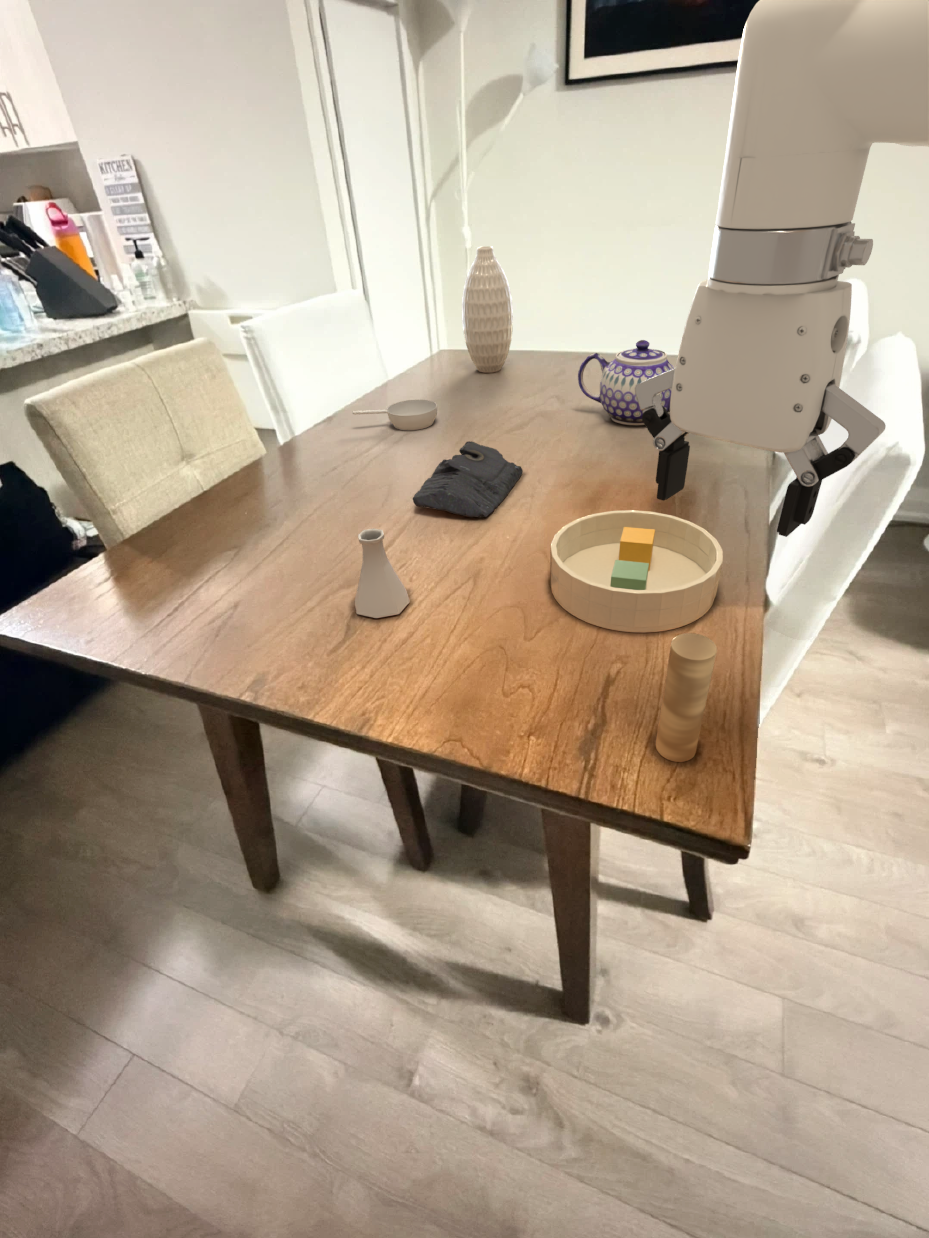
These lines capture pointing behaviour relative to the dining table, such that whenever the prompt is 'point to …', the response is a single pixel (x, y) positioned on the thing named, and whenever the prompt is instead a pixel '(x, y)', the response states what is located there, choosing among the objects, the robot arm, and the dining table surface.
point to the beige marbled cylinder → (685, 695)
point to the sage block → (629, 575)
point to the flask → (378, 580)
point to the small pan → (408, 414)
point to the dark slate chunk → (469, 482)
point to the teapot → (627, 381)
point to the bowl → (674, 579)
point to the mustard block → (637, 545)
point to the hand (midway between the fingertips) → (726, 510)
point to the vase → (487, 312)
